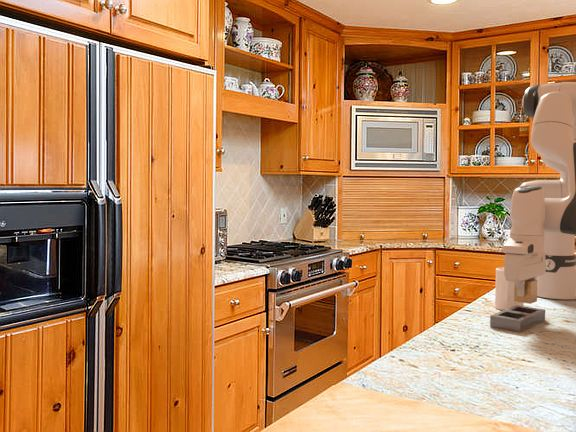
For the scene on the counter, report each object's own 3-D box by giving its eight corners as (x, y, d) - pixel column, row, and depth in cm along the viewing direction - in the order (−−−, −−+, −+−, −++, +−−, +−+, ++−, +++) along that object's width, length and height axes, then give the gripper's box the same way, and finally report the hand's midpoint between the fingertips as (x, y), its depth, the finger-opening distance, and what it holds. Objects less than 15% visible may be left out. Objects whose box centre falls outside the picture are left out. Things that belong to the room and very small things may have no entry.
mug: (520, 315, 160) (521, 274, 159) (489, 311, 164) (490, 271, 163) (526, 306, 170) (527, 268, 169) (497, 303, 174) (498, 266, 173)
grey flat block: (516, 315, 159) (516, 305, 159) (545, 320, 154) (545, 309, 153) (490, 326, 147) (490, 315, 147) (520, 332, 142) (520, 321, 141)
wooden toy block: (520, 298, 156) (521, 277, 155) (537, 301, 152) (537, 279, 152) (514, 301, 152) (514, 279, 152) (530, 303, 149) (531, 281, 149)
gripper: (529, 241, 161) (528, 288, 162) (499, 246, 147) (498, 298, 147) (552, 242, 157) (551, 290, 158) (523, 248, 142) (522, 301, 143)
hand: (525, 294), depth 152 cm, fingers closed on wooden toy block, 4 cm apart
